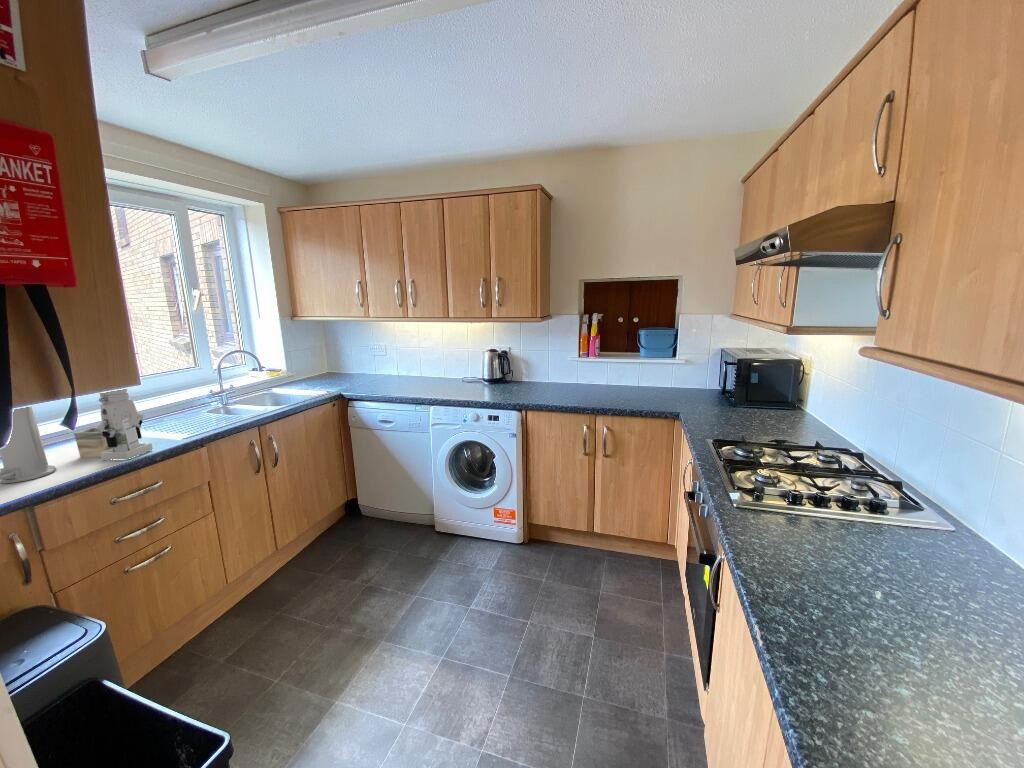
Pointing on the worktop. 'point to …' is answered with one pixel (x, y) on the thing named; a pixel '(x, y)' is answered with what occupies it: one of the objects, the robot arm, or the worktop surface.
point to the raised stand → (91, 443)
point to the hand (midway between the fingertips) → (125, 442)
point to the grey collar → (126, 455)
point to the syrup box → (126, 437)
